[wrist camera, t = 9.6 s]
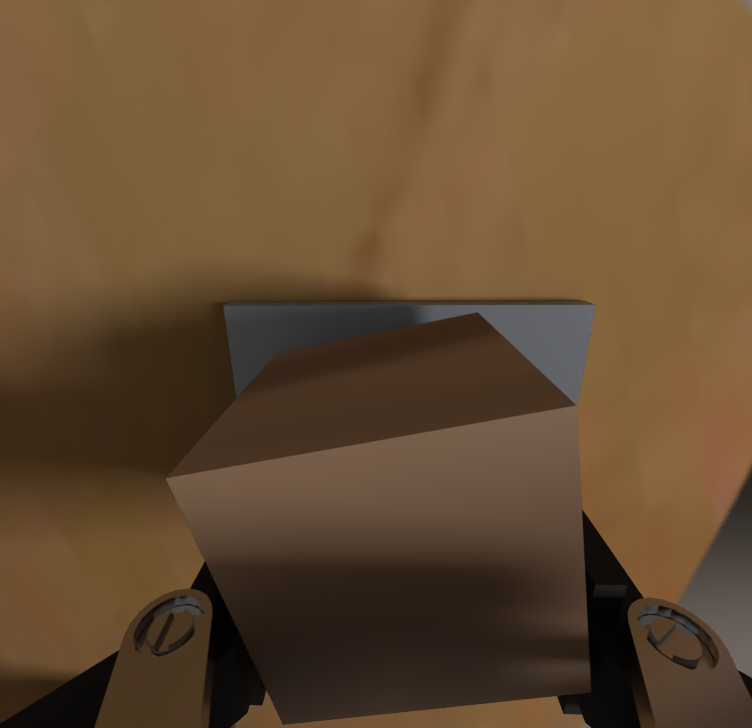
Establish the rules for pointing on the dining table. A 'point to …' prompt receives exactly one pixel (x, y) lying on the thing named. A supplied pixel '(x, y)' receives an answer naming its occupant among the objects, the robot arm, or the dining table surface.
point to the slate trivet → (358, 318)
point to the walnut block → (397, 524)
